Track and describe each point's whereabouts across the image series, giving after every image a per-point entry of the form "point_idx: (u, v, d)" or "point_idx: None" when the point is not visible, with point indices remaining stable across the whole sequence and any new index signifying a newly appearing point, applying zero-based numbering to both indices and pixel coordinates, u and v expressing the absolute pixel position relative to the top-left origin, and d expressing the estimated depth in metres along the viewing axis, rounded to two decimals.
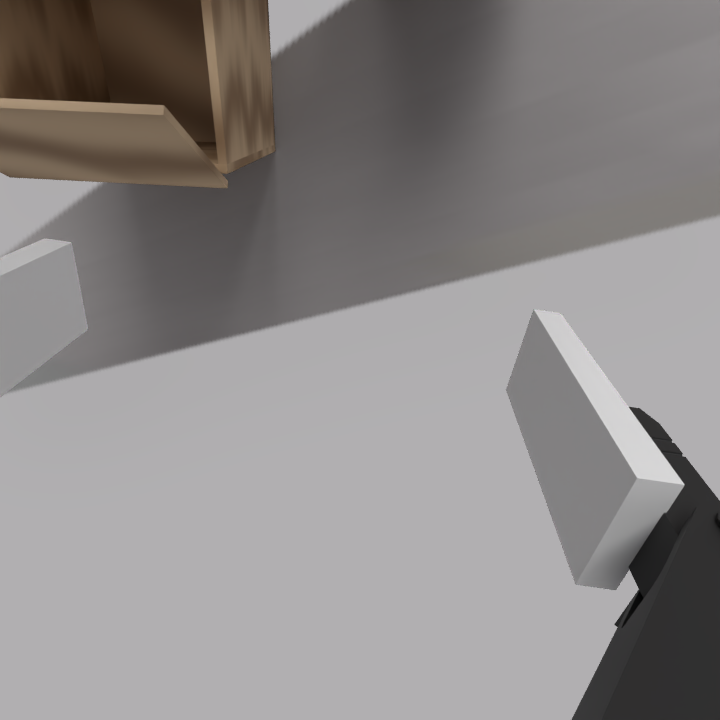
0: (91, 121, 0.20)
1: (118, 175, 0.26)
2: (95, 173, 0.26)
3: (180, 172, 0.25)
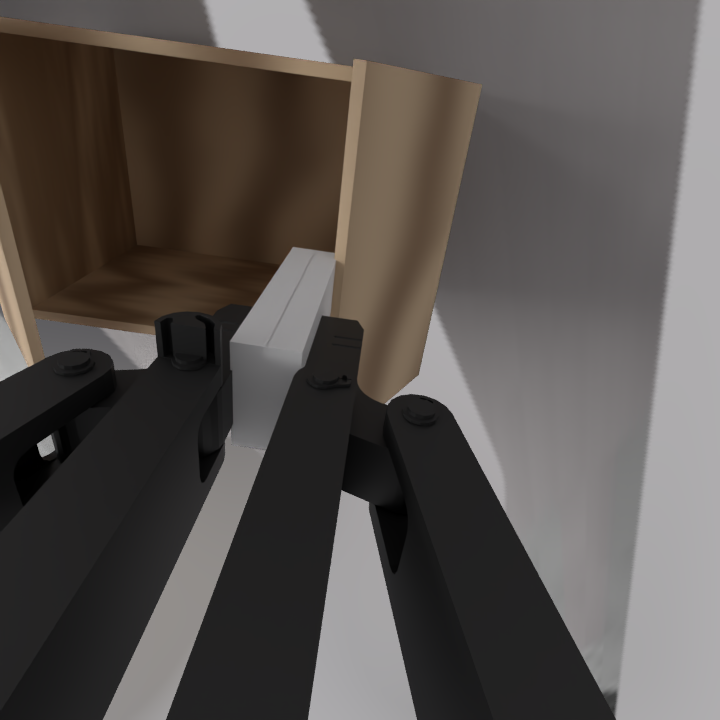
0: (366, 201, 0.14)
1: (436, 240, 0.20)
2: (430, 270, 0.20)
3: (449, 140, 0.17)
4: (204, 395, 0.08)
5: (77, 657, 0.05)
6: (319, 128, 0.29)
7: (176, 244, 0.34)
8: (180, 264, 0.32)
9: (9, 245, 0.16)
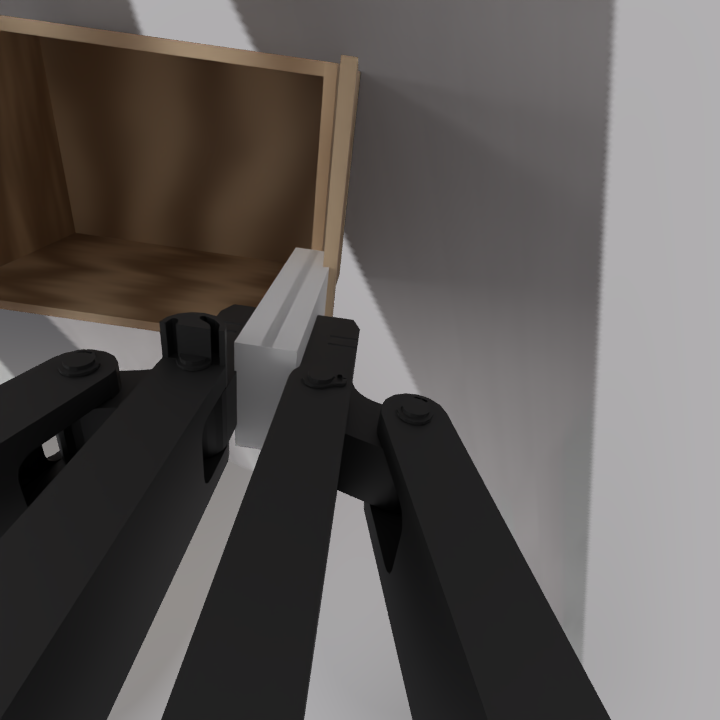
0: (343, 201, 0.14)
1: None
2: None
3: None
4: (208, 396, 0.08)
5: (80, 657, 0.05)
6: (246, 116, 0.30)
7: (114, 232, 0.34)
8: (113, 251, 0.32)
9: None
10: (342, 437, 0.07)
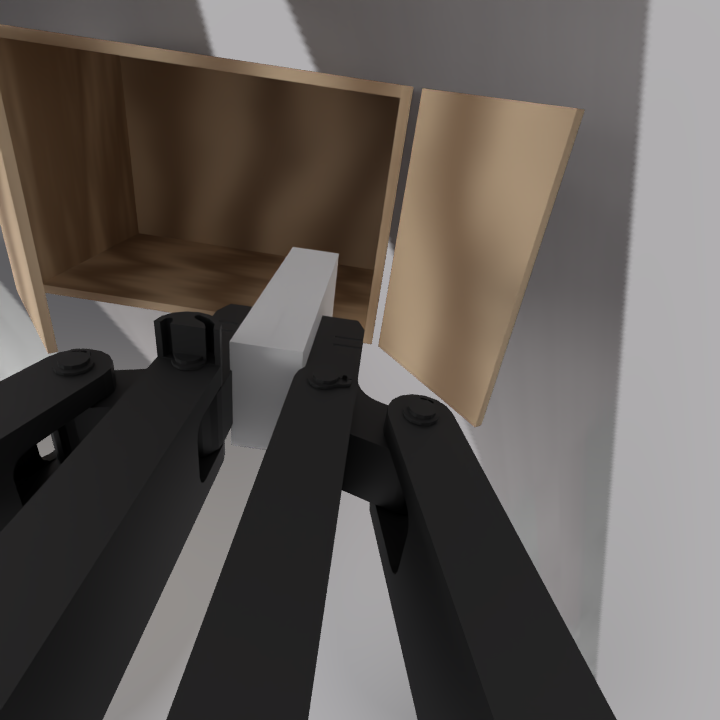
0: None
1: None
2: None
3: None
4: (204, 395, 0.08)
5: (77, 656, 0.05)
6: (304, 128, 0.32)
7: (174, 233, 0.37)
8: (177, 250, 0.35)
9: (23, 219, 0.19)
10: (347, 438, 0.07)
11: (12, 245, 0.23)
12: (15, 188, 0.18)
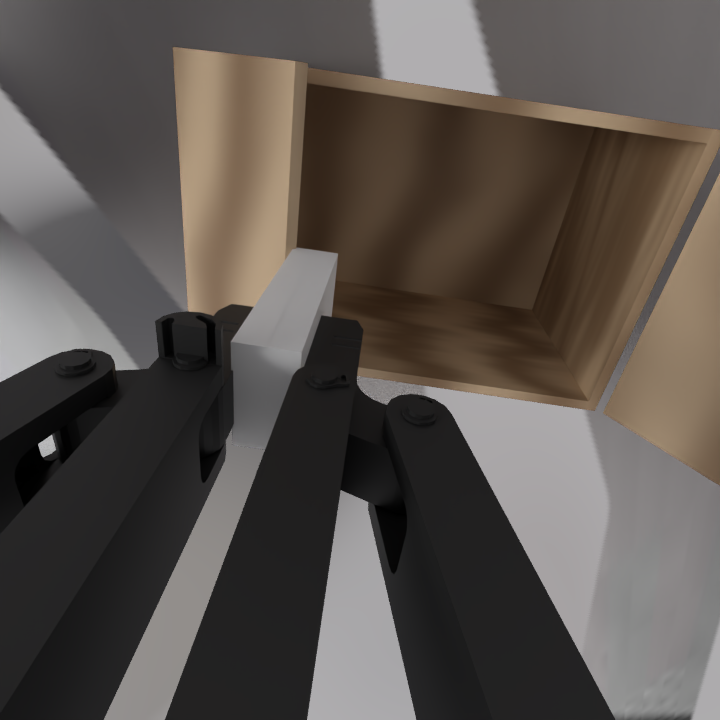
0: None
1: None
2: None
3: None
4: (205, 395, 0.08)
5: (78, 657, 0.05)
6: (477, 158, 0.29)
7: None
8: None
9: None
10: (346, 438, 0.07)
11: None
12: None
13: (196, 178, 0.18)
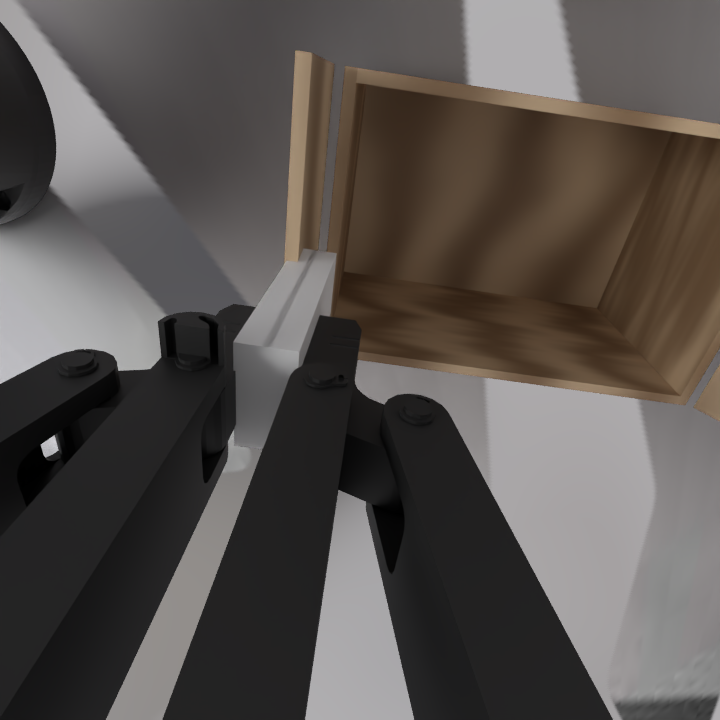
0: None
1: None
2: None
3: None
4: (207, 396, 0.08)
5: (79, 657, 0.05)
6: (556, 163, 0.30)
7: (384, 271, 0.34)
8: (401, 293, 0.32)
9: None
10: (343, 437, 0.07)
11: None
12: None
13: None
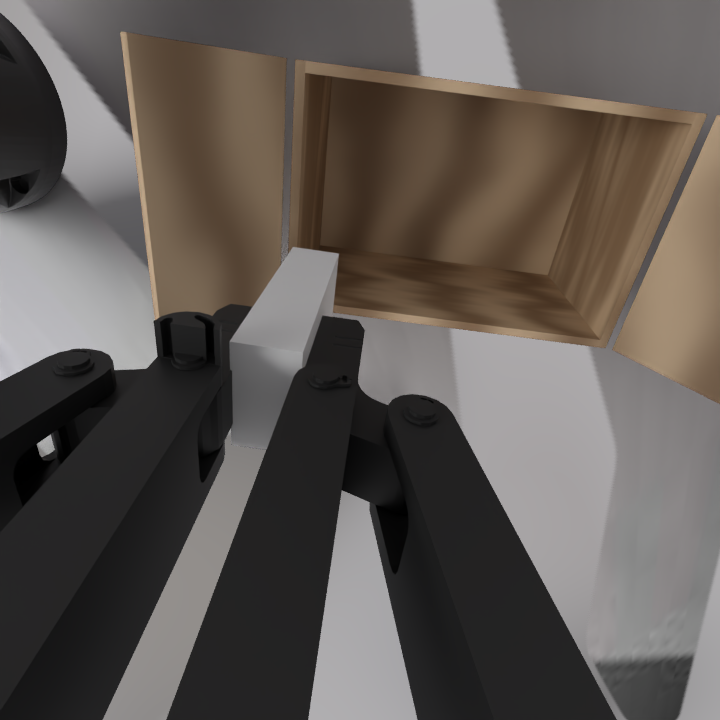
0: None
1: None
2: None
3: None
4: (204, 395, 0.08)
5: (77, 657, 0.05)
6: (501, 143, 0.34)
7: (355, 244, 0.39)
8: (369, 262, 0.37)
9: (145, 221, 0.20)
10: (347, 438, 0.07)
11: None
12: (142, 191, 0.20)
13: None
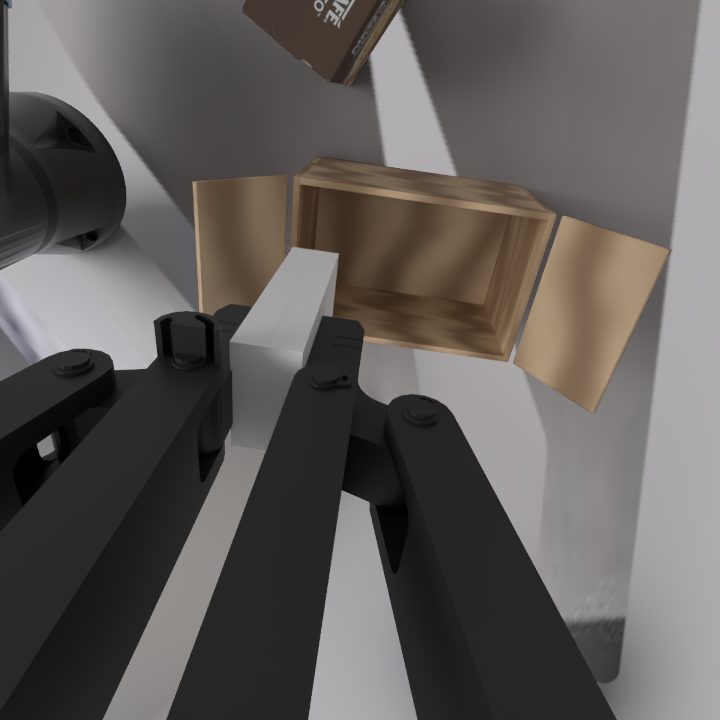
0: None
1: None
2: None
3: None
4: (204, 395, 0.08)
5: (77, 656, 0.05)
6: (444, 211, 0.47)
7: (339, 280, 0.51)
8: (348, 294, 0.49)
9: (199, 282, 0.33)
10: (347, 438, 0.07)
11: None
12: (198, 265, 0.32)
13: None
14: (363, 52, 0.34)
